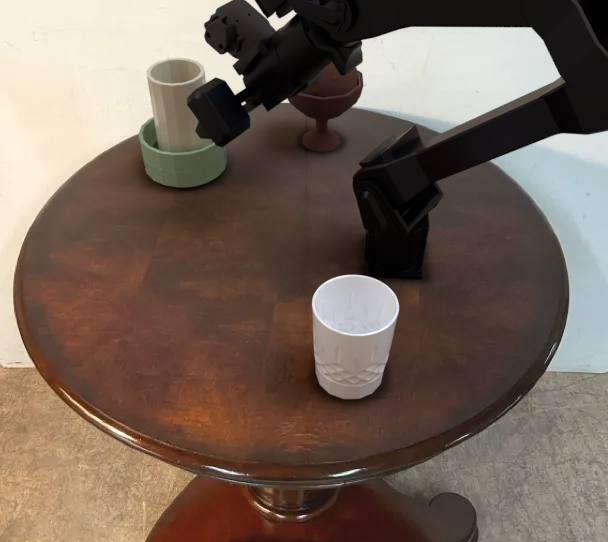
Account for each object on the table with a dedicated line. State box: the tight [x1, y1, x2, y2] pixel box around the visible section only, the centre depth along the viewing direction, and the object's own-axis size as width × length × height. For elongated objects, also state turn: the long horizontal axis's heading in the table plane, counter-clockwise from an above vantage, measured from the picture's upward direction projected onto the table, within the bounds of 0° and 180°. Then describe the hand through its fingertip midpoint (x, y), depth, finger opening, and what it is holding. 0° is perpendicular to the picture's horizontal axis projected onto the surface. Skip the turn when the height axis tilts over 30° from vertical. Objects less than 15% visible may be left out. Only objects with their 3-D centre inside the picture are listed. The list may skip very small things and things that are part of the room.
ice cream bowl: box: [286, 62, 364, 153], centre depth 94 cm, size 11×11×15 cm
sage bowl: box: [138, 116, 228, 188], centre depth 92 cm, size 11×11×6 cm
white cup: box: [311, 274, 400, 400], centre depth 66 cm, size 8×8×10 cm
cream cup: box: [145, 57, 212, 153], centre depth 89 cm, size 7×7×13 cm
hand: (223, 117), depth 84 cm, fingers open, 9 cm apart
